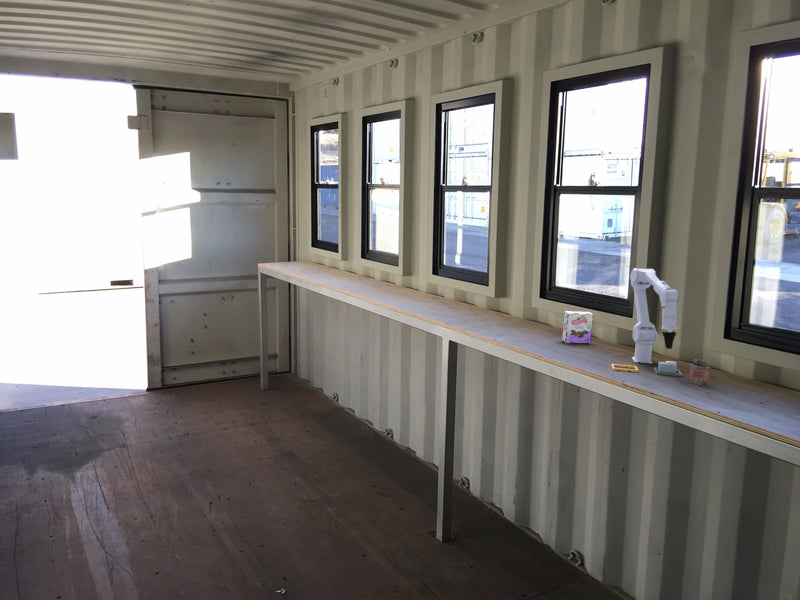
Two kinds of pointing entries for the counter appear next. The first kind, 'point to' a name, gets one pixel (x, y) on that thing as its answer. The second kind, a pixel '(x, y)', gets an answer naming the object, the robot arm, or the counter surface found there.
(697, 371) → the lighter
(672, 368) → the plug
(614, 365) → the orange picture frame
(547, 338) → the counter surface
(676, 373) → the open gray picture frame
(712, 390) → the counter surface
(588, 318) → the candy box
